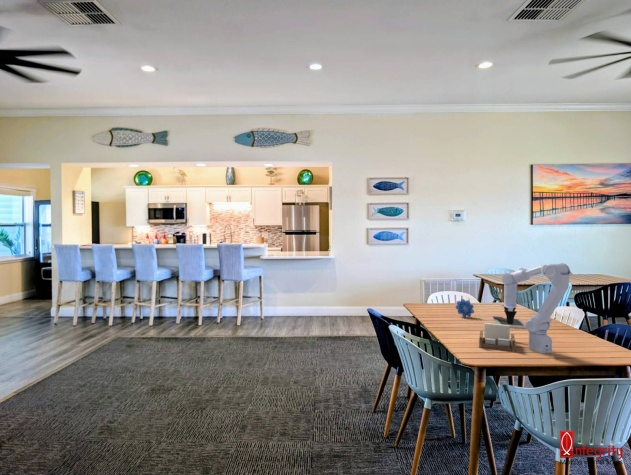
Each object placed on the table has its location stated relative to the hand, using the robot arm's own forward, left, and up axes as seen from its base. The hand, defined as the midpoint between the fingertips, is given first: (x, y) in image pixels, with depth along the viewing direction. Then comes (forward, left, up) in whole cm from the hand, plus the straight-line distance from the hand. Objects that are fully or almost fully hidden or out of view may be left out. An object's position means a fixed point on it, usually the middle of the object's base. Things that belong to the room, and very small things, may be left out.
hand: (509, 322), depth 205 cm
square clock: (+34, -29, -11) cm, 46 cm away
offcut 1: (-7, +17, -10) cm, 20 cm away
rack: (-1, +9, -10) cm, 14 cm away
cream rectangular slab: (+5, +3, -10) cm, 12 cm away
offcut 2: (-10, +12, -10) cm, 18 cm away
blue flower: (+57, -13, -11) cm, 59 cm away
